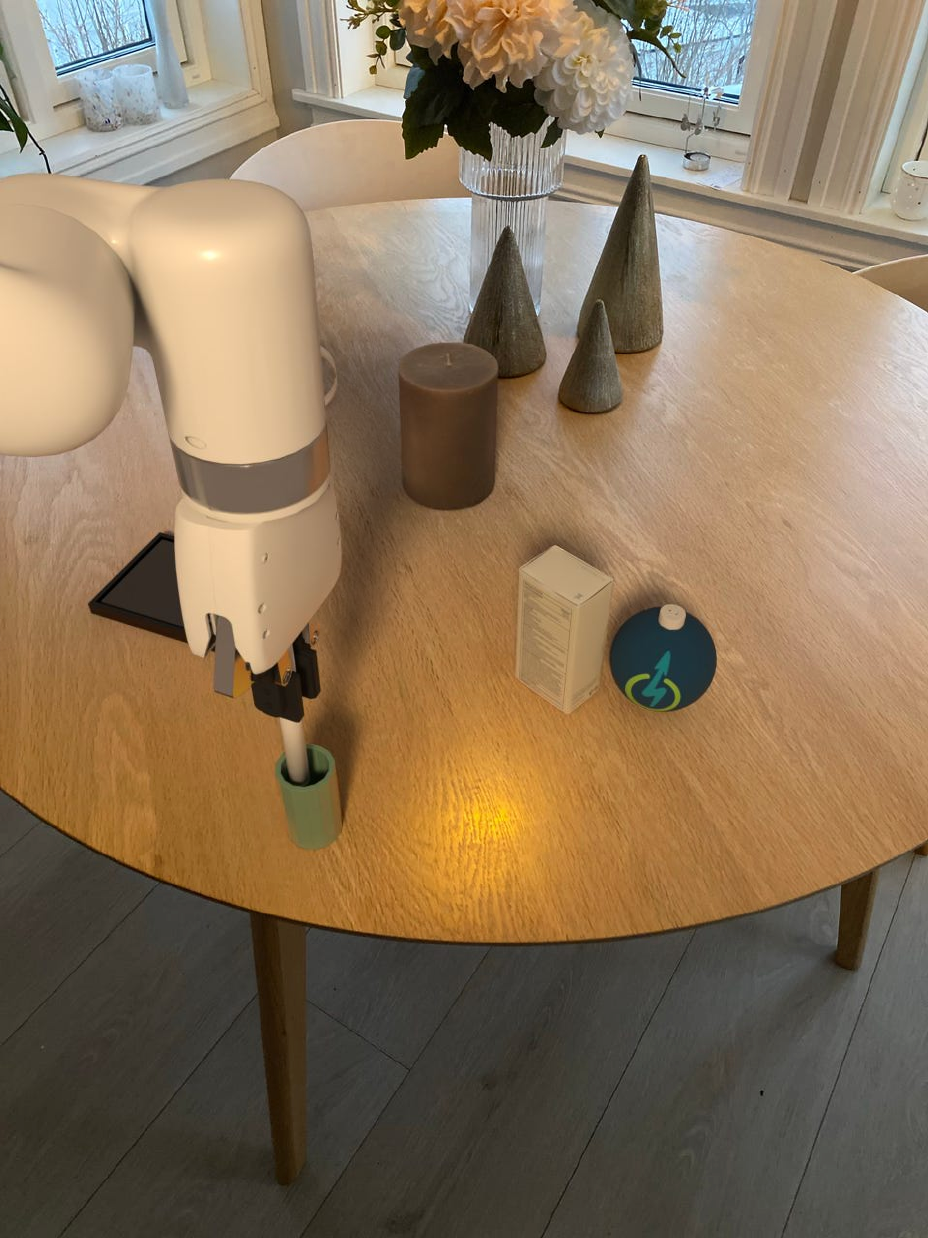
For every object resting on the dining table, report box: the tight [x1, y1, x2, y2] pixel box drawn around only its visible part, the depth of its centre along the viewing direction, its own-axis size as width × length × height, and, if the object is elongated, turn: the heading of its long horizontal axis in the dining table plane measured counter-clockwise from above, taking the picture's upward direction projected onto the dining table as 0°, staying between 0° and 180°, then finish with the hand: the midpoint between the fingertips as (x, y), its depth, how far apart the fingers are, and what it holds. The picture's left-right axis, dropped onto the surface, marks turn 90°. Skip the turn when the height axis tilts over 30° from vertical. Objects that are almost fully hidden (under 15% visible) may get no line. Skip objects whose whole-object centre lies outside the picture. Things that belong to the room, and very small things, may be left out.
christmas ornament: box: [608, 603, 718, 713], centre depth 76 cm, size 8×8×10 cm
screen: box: [101, 540, 185, 629], centre depth 86 cm, size 14×9×1 cm, turn 69°
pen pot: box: [274, 743, 343, 851], centre depth 67 cm, size 4×4×7 cm
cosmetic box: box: [514, 544, 615, 716], centre depth 76 cm, size 6×4×12 cm
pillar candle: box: [397, 341, 499, 511], centre depth 95 cm, size 10×10×15 cm
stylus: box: [279, 644, 310, 787], centre depth 61 cm, size 1×1×14 cm
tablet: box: [87, 531, 215, 653], centre depth 87 cm, size 16×11×1 cm
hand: (288, 700), depth 60 cm, fingers closed on stylus, 1 cm apart
